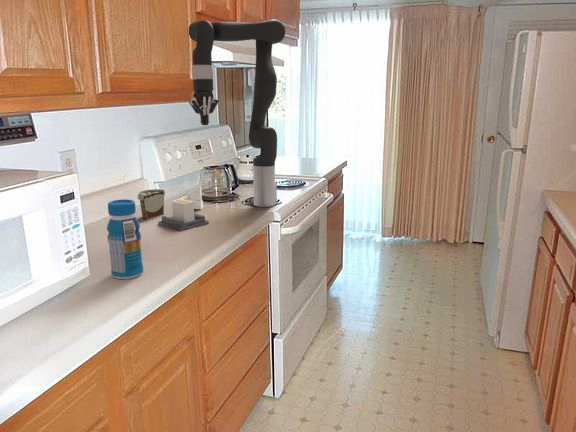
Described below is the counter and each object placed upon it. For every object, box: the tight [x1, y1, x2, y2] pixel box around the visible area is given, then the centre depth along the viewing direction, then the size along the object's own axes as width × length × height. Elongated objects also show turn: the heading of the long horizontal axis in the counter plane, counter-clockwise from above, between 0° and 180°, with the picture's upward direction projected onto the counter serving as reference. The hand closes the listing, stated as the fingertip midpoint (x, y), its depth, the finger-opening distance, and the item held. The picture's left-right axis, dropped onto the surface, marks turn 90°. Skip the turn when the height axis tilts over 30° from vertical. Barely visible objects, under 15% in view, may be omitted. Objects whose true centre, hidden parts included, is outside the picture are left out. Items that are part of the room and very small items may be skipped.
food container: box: [137, 188, 166, 221], centre depth 189 cm, size 12×6×10 cm, turn 152°
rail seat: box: [157, 212, 210, 232], centre depth 179 cm, size 13×13×3 cm
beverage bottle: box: [106, 198, 144, 280], centre depth 128 cm, size 8×8×20 cm
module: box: [171, 198, 195, 223], centre depth 179 cm, size 4×7×7 cm, turn 49°
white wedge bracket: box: [186, 185, 204, 210], centre depth 202 cm, size 4×10×9 cm, turn 84°
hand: (204, 125), depth 186 cm, fingers closed
